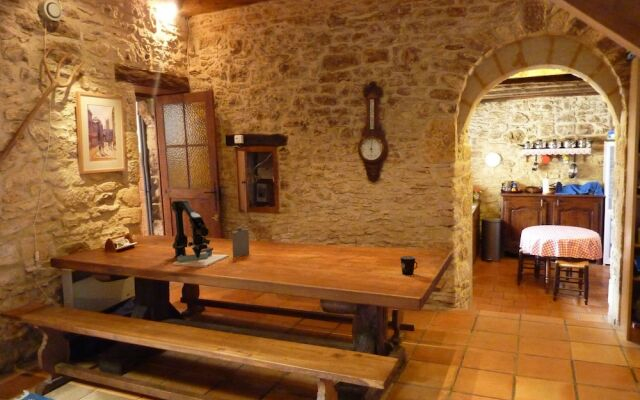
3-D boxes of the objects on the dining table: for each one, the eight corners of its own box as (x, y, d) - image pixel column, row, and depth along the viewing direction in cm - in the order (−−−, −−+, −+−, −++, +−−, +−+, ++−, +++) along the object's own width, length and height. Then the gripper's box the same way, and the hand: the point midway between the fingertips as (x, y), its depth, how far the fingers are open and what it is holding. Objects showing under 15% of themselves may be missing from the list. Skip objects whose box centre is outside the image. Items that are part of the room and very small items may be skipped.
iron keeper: (200, 258, 331) (200, 251, 331) (194, 257, 335) (194, 250, 334) (213, 255, 340) (213, 248, 340) (207, 254, 344) (207, 247, 343)
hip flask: (235, 257, 336) (234, 229, 334) (231, 257, 338) (230, 228, 336) (250, 253, 350) (249, 225, 348) (245, 252, 352) (244, 225, 350)
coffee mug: (398, 272, 289) (398, 256, 288) (413, 272, 289) (413, 255, 288) (403, 277, 277) (403, 260, 276) (418, 277, 278) (418, 259, 277)
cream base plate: (172, 265, 318) (172, 263, 318) (198, 255, 347) (198, 253, 347) (205, 267, 311) (205, 265, 310) (228, 256, 340) (228, 255, 340)
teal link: (179, 262, 319) (179, 256, 319) (177, 261, 323) (176, 255, 322) (208, 257, 331) (208, 252, 330) (206, 256, 334) (205, 251, 334)
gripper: (214, 235, 322) (215, 258, 323) (202, 232, 337) (203, 254, 338) (198, 237, 315) (199, 260, 316) (187, 234, 330) (188, 256, 331)
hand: (198, 258), depth 326 cm, fingers closed
